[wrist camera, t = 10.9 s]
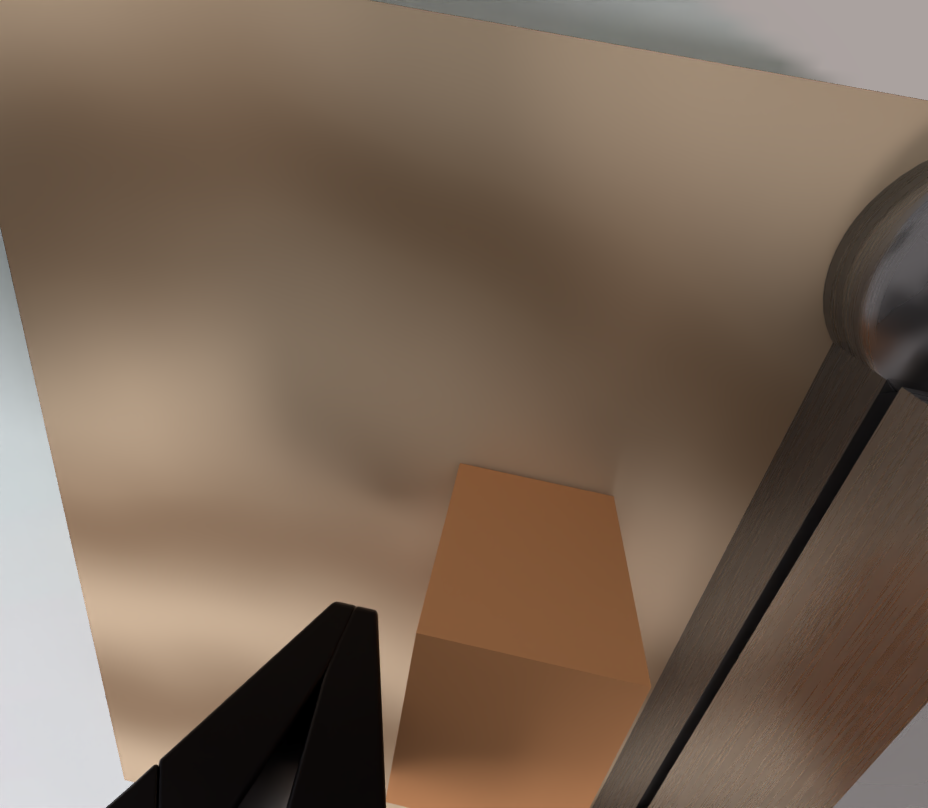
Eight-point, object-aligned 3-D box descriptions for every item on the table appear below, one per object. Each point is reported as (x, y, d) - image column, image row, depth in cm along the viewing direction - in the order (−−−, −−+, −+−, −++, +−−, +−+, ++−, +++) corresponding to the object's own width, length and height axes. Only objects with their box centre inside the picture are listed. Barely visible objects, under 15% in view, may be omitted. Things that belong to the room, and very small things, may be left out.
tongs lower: (900, 114, 7) (1498, 72, 3) (1181, 165, 7) (2310, 209, 3) (553, 838, 16) (557, 1111, 11) (674, 868, 16) (726, 1157, 11)
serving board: (659, 868, 18) (667, 915, 17) (148, 743, 19) (124, 779, 18) (1155, 155, 8) (1249, 158, 7) (7, -52, 9) (-69, -79, 8)
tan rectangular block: (561, 638, 12) (568, 847, 8) (431, 608, 12) (384, 801, 9) (613, 496, 10) (650, 686, 7) (459, 463, 10) (415, 632, 7)
